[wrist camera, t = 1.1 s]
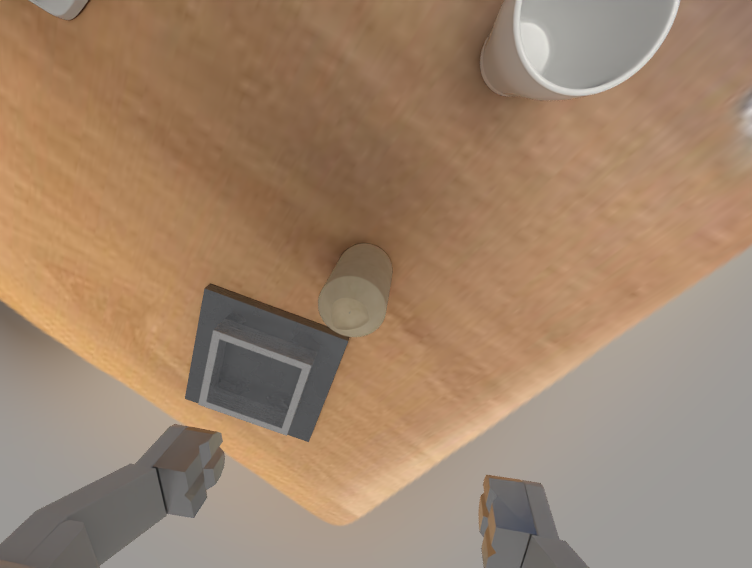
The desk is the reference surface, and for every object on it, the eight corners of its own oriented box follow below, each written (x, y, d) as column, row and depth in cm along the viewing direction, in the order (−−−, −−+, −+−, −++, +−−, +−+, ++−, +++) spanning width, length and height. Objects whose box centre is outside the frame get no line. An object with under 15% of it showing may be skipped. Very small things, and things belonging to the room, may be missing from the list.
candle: (360, 302, 39) (342, 358, 30) (327, 261, 38) (298, 306, 29) (403, 275, 38) (398, 326, 28) (371, 231, 36) (355, 269, 27)
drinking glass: (578, 36, 28) (728, -41, 15) (523, 123, 31) (605, 126, 17) (502, -13, 28) (585, -142, 14) (452, 80, 30) (480, 49, 17)
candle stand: (190, 392, 47) (172, 413, 43) (210, 283, 40) (191, 298, 37) (311, 434, 48) (302, 458, 44) (350, 335, 41) (344, 354, 38)
